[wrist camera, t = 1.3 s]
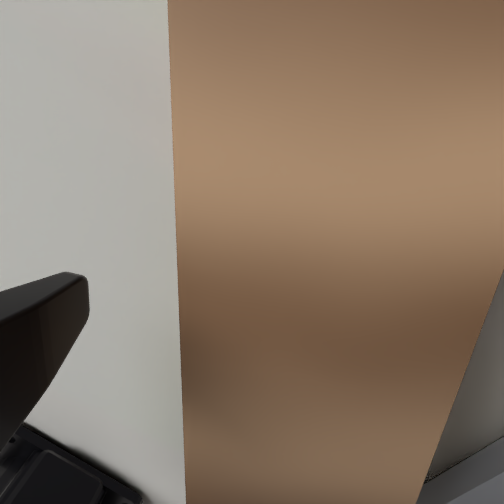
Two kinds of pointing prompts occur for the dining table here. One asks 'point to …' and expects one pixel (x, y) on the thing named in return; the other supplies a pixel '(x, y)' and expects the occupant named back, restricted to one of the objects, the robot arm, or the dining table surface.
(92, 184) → the dining table surface
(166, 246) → the dining table surface
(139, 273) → the dining table surface
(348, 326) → the shelf board
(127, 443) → the dining table surface
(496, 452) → the peg plate
